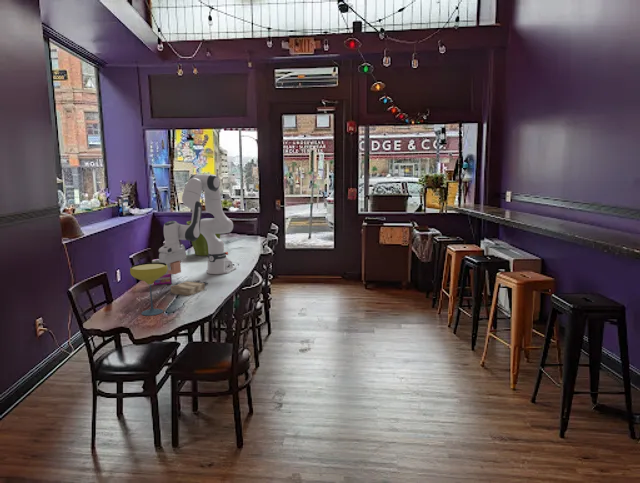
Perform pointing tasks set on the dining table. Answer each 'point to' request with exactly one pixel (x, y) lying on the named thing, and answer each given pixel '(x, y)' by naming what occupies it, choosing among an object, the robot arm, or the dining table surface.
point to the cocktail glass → (149, 279)
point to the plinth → (188, 288)
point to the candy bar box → (163, 277)
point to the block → (175, 268)
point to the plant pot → (201, 244)
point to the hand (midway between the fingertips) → (174, 268)
